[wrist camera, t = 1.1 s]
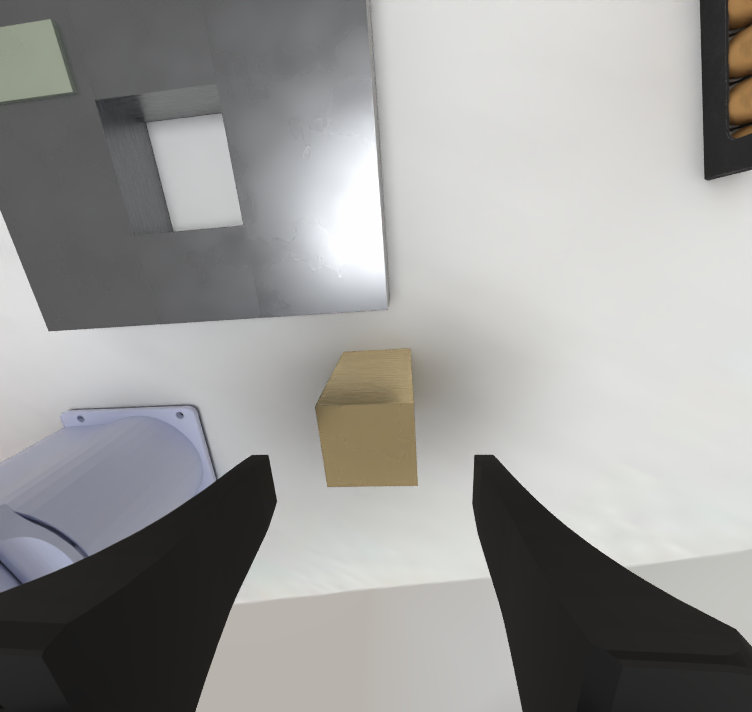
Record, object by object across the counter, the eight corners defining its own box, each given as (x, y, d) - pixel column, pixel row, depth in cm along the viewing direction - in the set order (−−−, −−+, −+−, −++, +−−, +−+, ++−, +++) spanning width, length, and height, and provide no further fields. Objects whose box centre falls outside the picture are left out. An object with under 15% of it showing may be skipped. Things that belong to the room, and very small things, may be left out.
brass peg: (350, 411, 22) (327, 486, 15) (343, 351, 21) (314, 406, 14) (413, 409, 22) (417, 485, 15) (410, 348, 20) (413, 402, 14)
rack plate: (96, 318, 21) (45, 332, 18) (-4, 33, 17) (-94, -12, 14) (389, 298, 19) (387, 310, 16) (368, -26, 15) (359, -93, 12)
